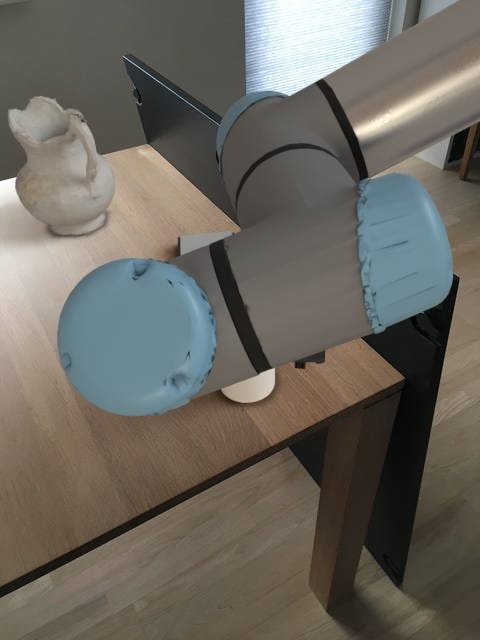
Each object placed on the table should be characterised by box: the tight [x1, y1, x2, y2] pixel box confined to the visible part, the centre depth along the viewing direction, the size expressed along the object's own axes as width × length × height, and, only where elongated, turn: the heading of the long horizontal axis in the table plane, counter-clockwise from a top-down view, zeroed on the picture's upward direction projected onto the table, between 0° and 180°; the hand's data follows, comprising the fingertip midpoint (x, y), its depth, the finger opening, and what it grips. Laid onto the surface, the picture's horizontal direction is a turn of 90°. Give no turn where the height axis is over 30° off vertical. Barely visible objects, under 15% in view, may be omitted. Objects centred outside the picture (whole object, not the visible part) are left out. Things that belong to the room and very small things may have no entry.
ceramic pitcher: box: [7, 95, 116, 236], centre depth 106 cm, size 22×20×25 cm
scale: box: [177, 230, 235, 257], centre depth 101 cm, size 11×12×3 cm
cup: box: [220, 368, 276, 404], centre depth 74 cm, size 8×8×16 cm
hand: (231, 344), depth 60 cm, fingers open, 13 cm apart
